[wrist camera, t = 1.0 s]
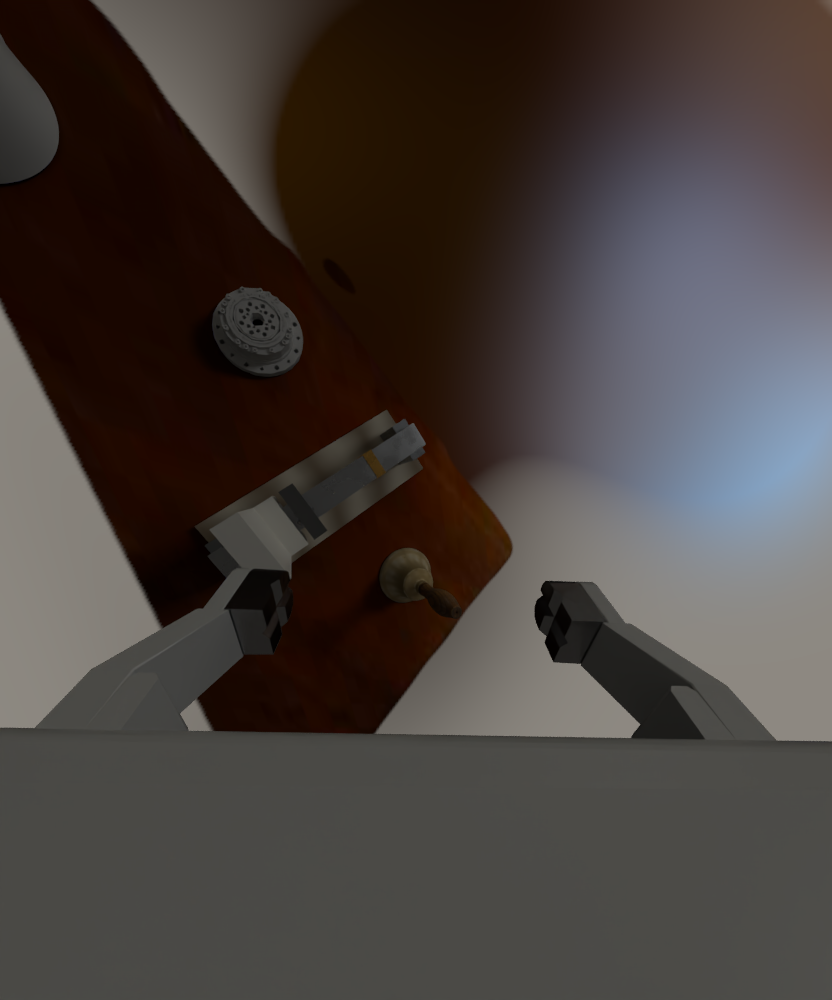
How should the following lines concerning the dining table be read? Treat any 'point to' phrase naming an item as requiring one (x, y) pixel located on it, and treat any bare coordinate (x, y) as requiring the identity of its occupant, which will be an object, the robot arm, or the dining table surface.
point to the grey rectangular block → (261, 537)
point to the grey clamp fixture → (344, 482)
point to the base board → (321, 469)
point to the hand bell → (415, 582)
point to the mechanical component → (257, 332)
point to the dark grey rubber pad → (302, 511)
